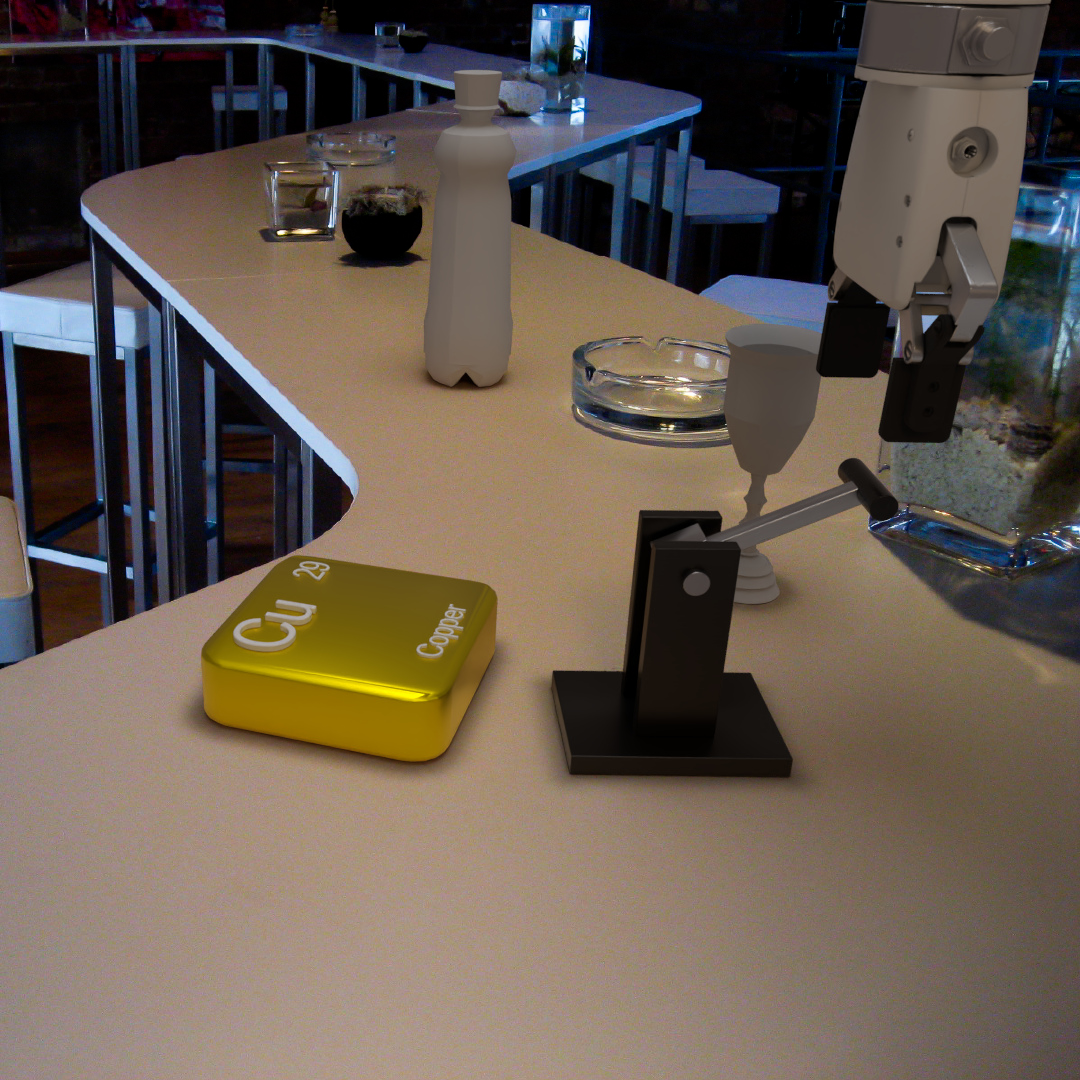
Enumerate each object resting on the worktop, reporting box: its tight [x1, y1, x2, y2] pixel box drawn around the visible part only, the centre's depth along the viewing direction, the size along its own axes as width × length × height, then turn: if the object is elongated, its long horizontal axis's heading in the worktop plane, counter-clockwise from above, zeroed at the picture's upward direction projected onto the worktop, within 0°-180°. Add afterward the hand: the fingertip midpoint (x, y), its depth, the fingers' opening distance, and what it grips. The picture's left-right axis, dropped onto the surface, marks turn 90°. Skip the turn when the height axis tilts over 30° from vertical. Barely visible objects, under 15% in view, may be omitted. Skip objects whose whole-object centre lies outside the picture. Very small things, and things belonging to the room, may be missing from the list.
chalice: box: [723, 323, 822, 605], centre depth 85 cm, size 7×7×18 cm
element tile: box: [200, 554, 498, 763], centre depth 77 cm, size 15×15×5 cm
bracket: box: [551, 509, 794, 778], centre depth 70 cm, size 12×9×13 cm
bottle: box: [423, 69, 517, 388], centre depth 125 cm, size 9×9×30 cm
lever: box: [650, 457, 900, 551], centre depth 67 cm, size 12×5×2 cm, turn 87°
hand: (876, 406), depth 64 cm, fingers open, 9 cm apart
